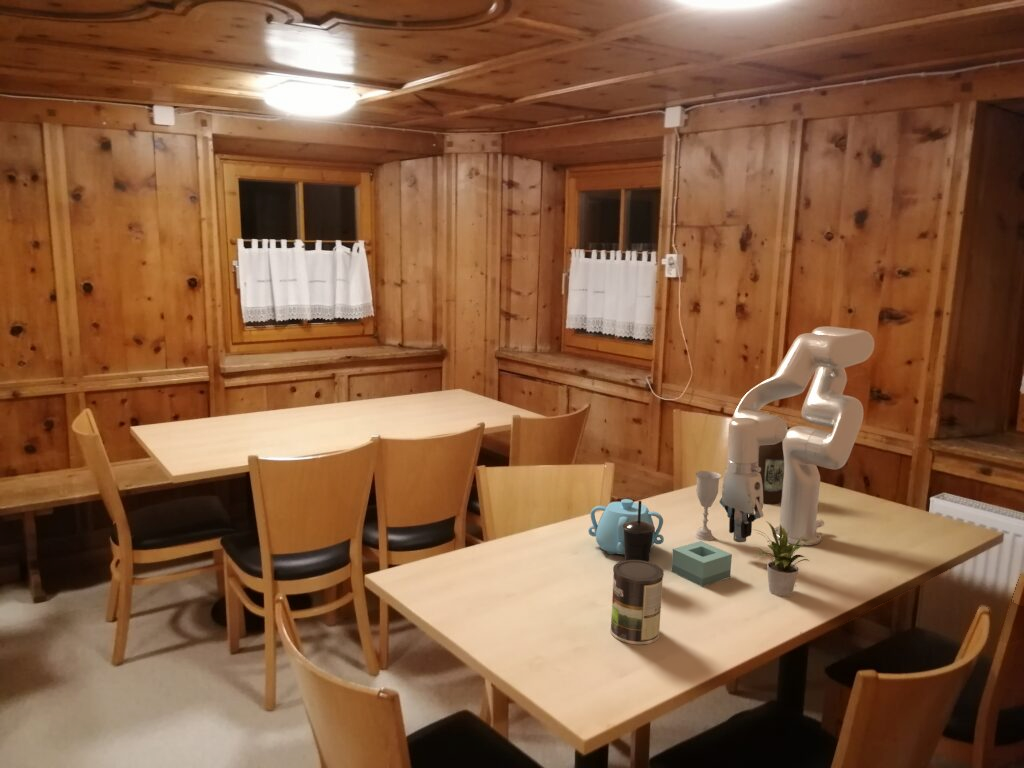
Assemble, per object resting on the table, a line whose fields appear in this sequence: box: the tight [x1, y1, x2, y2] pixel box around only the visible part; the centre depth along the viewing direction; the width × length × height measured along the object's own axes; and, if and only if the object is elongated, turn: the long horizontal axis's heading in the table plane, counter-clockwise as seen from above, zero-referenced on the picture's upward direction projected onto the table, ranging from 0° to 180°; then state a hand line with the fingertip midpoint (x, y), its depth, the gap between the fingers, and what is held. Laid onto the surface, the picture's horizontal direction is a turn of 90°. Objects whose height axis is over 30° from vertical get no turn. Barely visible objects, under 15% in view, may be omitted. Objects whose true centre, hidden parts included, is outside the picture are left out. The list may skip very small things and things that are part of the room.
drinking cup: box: [623, 500, 656, 562], centre depth 188 cm, size 8×8×20 cm
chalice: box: [694, 470, 722, 541], centre depth 217 cm, size 7×7×18 cm
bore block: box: [671, 540, 733, 587], centre depth 193 cm, size 10×10×6 cm
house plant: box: [754, 520, 815, 597], centre depth 184 cm, size 14×14×16 cm
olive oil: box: [758, 440, 784, 505], centre depth 249 cm, size 11×11×25 cm
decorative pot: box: [588, 498, 665, 556], centre depth 207 cm, size 16×16×14 cm
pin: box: [733, 509, 747, 543], centre depth 202 cm, size 3×3×10 cm
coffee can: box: [610, 559, 665, 646], centre depth 163 cm, size 10×10×14 cm
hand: (740, 533), depth 203 cm, fingers closed on pin, 3 cm apart
